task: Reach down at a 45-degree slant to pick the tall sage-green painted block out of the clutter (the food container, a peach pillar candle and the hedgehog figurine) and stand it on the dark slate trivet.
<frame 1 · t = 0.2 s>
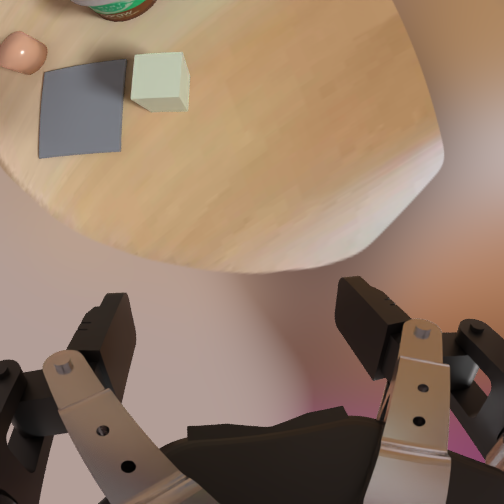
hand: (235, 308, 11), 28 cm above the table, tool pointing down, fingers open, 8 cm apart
trivet: (80, 108, 32), on the table
food container: (127, 9, 29), on the table
peach pillar candle: (33, 58, 28), on the table
sage block: (170, 94, 33), on the table
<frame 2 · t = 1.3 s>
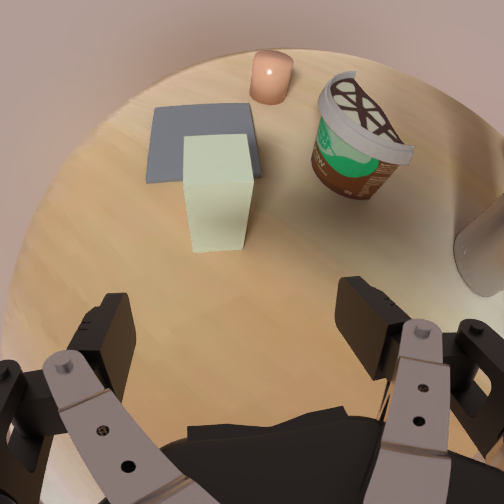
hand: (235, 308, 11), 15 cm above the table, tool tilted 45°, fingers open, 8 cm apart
trivet: (202, 139, 34), on the table
food container: (328, 170, 34), on the table
peach pillar candle: (267, 94, 39), on the table
sage block: (216, 229, 29), on the table
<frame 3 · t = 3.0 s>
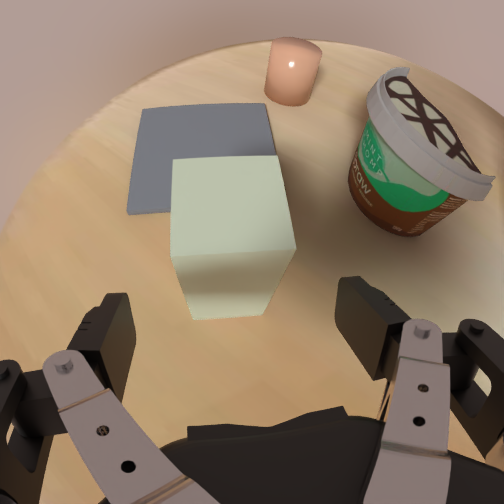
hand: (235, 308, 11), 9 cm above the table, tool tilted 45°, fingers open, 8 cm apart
trivet: (203, 151, 26), on the table
food container: (369, 196, 26), on the table
peach pillar candle: (287, 92, 31), on the table
sage block: (225, 285, 21), on the table
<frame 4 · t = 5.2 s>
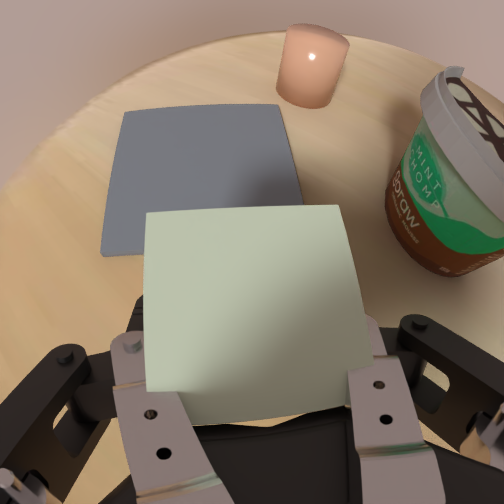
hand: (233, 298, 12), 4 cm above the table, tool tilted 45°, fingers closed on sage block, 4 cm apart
trivet: (201, 167, 20), on the table
food container: (410, 226, 20), on the table
peach pillar candle: (303, 91, 25), on the table
sage block: (234, 357, 15), on the table, touching gripper
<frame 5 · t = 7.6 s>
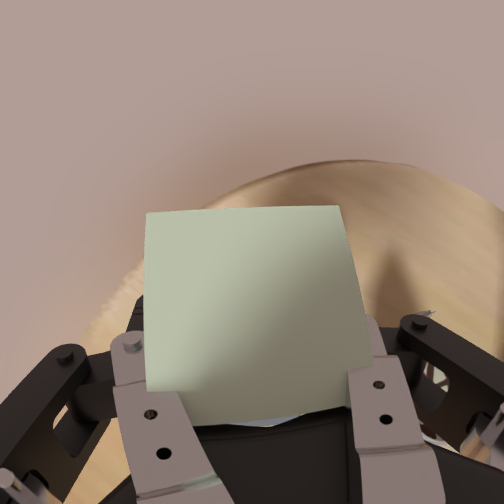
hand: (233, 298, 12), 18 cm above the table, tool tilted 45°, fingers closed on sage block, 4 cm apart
trivet: (228, 366, 28), on the table
food container: (371, 395, 28), on the table
sage block: (234, 357, 15), point 14 cm above the table, touching gripper
when the fingers open (6 cm above the table, at t = 10.4 s): sage block stays where it is, resting on trivet.
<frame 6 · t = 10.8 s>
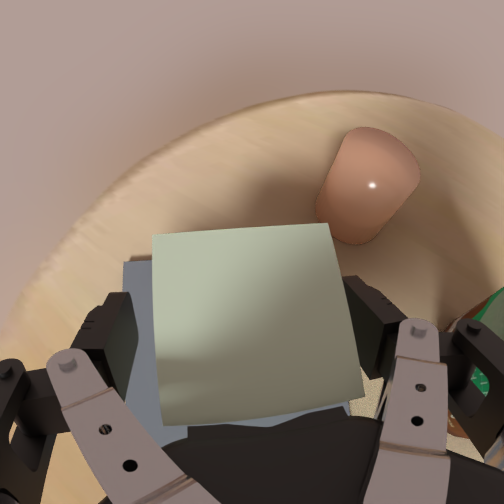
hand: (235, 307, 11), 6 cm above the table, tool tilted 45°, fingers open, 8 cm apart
trivet: (232, 360, 16), on the table
food container: (447, 393, 16), on the table
peach pillar candle: (348, 212, 21), on the table
sage block: (234, 359, 16), point 1 cm above the table, touching trivet
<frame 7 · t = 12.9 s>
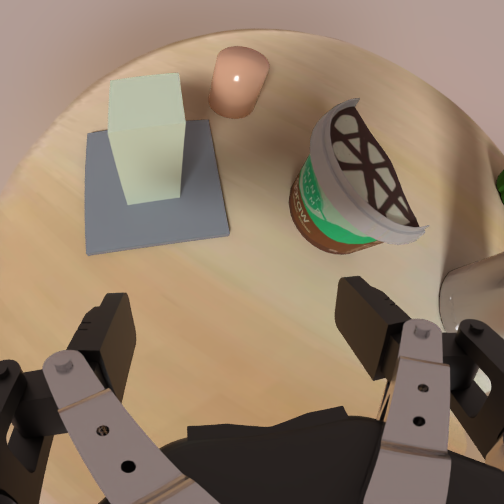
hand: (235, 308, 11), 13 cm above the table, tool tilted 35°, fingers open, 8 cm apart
trivet: (150, 180, 26), on the table
food container: (309, 216, 29), on the table
peach pillar candle: (231, 101, 31), on the table
sage block: (151, 178, 26), point 1 cm above the table, touching trivet
bell pepper: (503, 195, 41), on the table
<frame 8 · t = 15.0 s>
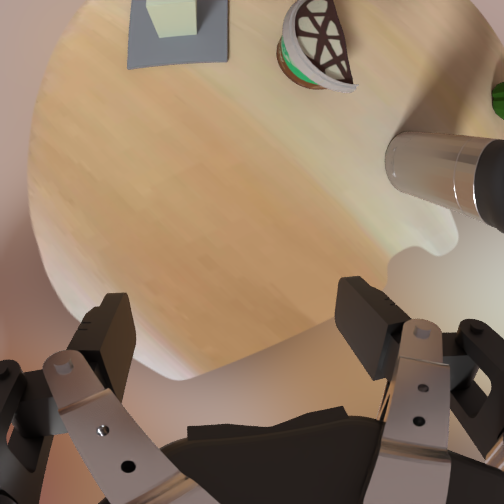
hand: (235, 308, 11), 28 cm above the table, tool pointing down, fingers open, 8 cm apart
trivet: (177, 22, 29), on the table
food container: (291, 57, 33), on the table
sage block: (178, 20, 29), point 1 cm above the table, touching trivet
bell pepper: (497, 102, 38), on the table
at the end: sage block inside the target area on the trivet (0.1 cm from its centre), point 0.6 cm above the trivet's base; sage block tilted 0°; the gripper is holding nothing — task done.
